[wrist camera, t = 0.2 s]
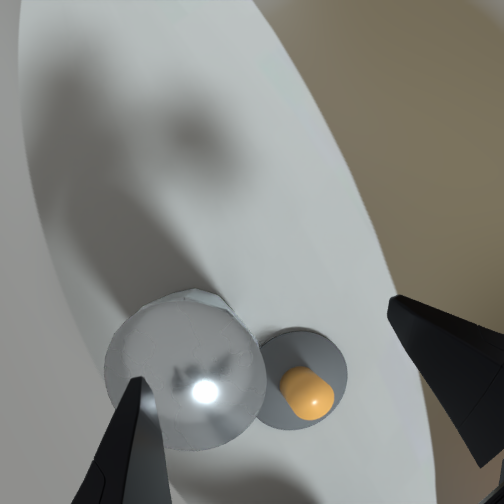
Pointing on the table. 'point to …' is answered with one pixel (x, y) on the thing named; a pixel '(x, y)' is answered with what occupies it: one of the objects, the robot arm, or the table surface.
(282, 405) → the rubber pad
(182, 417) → the grey cup
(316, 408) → the orange egg shape
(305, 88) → the table surface
